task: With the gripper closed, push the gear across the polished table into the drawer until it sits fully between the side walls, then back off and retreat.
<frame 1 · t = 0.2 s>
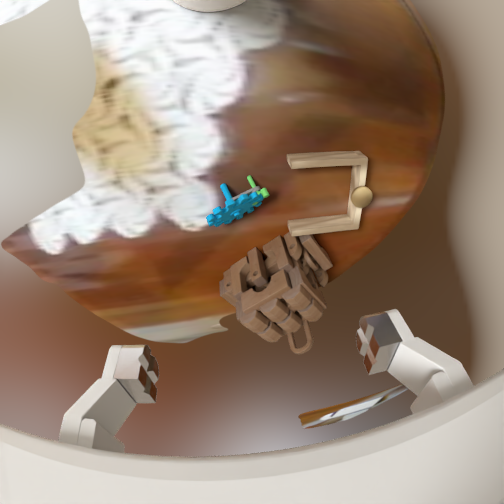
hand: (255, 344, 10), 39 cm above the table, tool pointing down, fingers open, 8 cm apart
wooden puzzle: (273, 267, 62), on the table
drawer: (319, 189, 50), on the table
gear: (236, 196, 50), on the table
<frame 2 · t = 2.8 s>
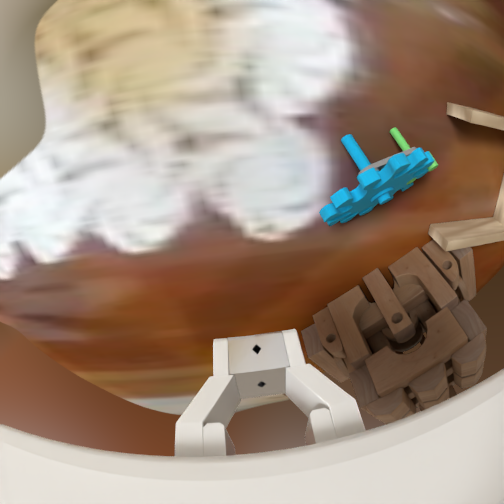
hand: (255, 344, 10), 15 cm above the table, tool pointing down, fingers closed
wooden puzzle: (390, 302, 33), on the table
drawer: (476, 172, 23), on the table
gear: (362, 168, 23), on the table
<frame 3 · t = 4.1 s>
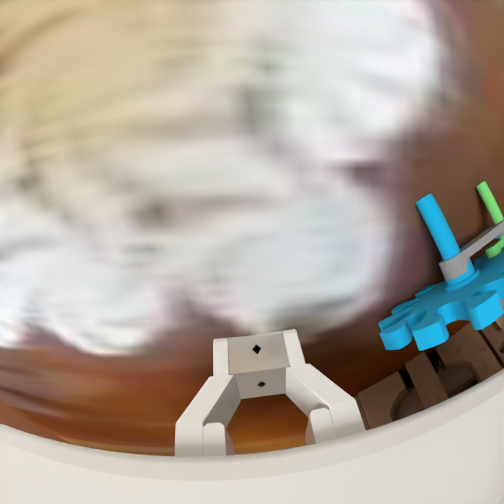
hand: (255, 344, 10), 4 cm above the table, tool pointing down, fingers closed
wooden puzzle: (426, 376, 24), on the table
gear: (432, 240, 14), on the table
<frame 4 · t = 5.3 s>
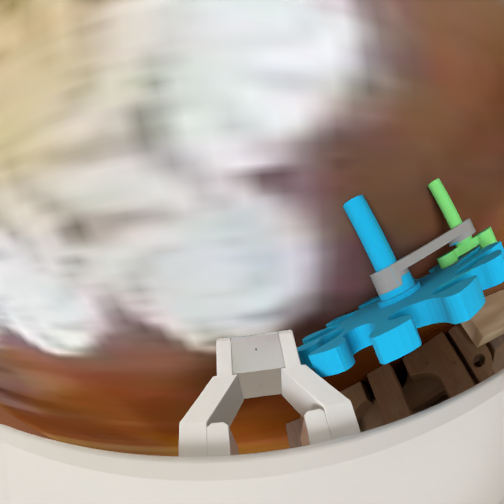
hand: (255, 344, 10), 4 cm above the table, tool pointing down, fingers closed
wooden puzzle: (399, 386, 24), on the table
gear: (376, 247, 14), on the table, touching gripper
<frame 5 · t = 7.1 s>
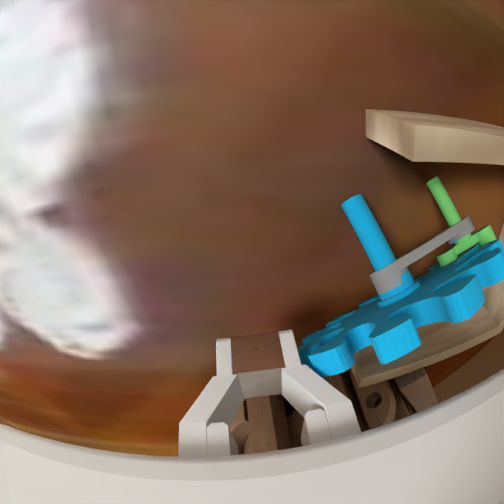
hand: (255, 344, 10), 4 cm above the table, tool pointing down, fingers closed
wooden puzzle: (306, 408, 24), on the table
drawer: (445, 241, 14), on the table
gear: (375, 246, 14), on the table, touching gripper
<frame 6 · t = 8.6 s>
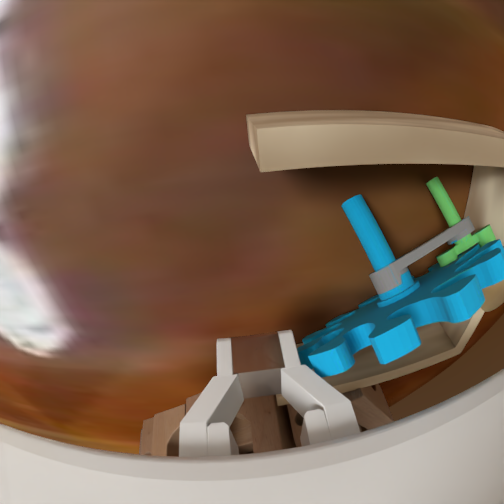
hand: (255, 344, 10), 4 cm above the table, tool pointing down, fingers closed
wooden puzzle: (255, 416, 24), on the table
drawer: (376, 254, 14), on the table
gear: (375, 246, 14), on the table, touching gripper
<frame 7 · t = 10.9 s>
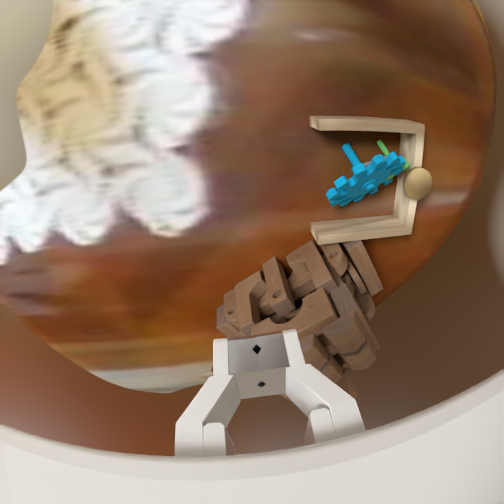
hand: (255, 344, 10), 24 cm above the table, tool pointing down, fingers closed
wooden puzzle: (297, 290, 42), on the table
drawer: (357, 174, 33), on the table
gear: (356, 168, 33), on the table
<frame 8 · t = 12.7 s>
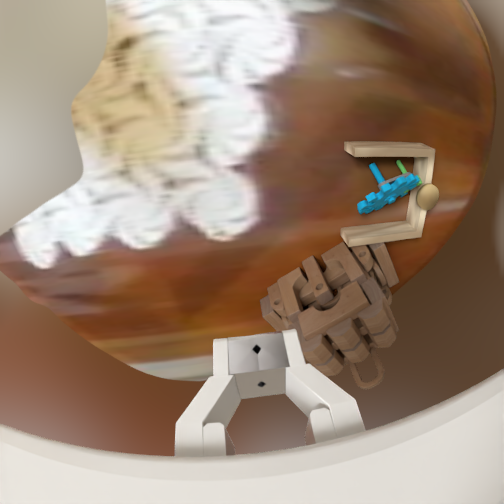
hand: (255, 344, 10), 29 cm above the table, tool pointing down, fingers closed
wooden puzzle: (327, 283, 49), on the table
drawer: (379, 188, 39), on the table
gear: (378, 182, 39), on the table
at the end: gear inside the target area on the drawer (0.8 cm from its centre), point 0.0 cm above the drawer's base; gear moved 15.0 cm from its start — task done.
